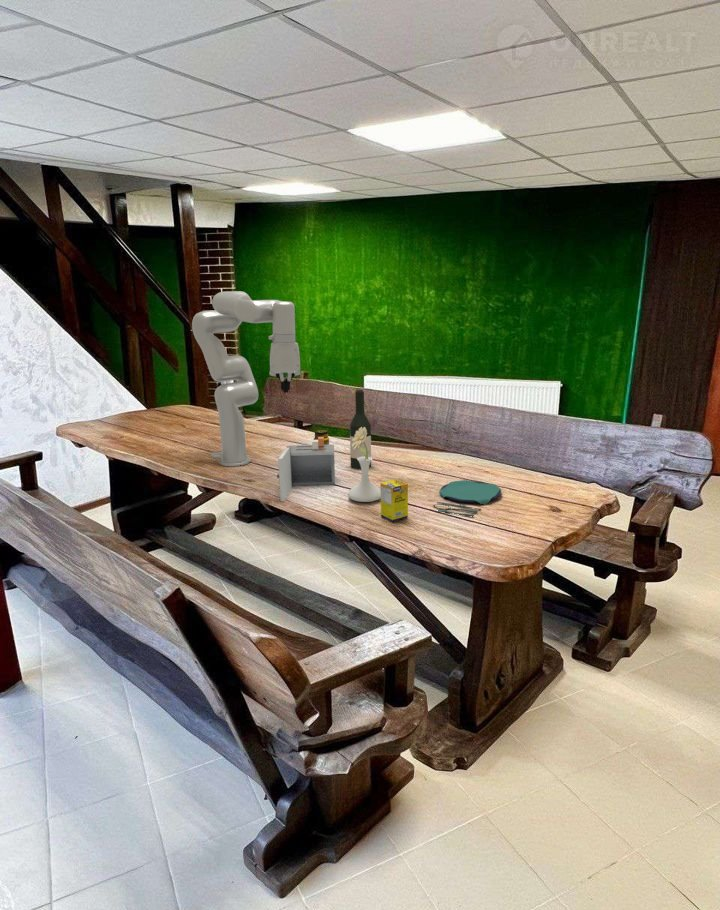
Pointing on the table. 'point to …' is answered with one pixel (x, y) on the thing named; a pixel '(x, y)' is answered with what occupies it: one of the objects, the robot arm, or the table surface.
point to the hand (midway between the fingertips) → (285, 391)
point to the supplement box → (394, 500)
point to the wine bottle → (355, 424)
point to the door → (285, 473)
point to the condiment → (322, 434)
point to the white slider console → (312, 465)
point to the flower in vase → (363, 473)
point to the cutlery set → (468, 494)
